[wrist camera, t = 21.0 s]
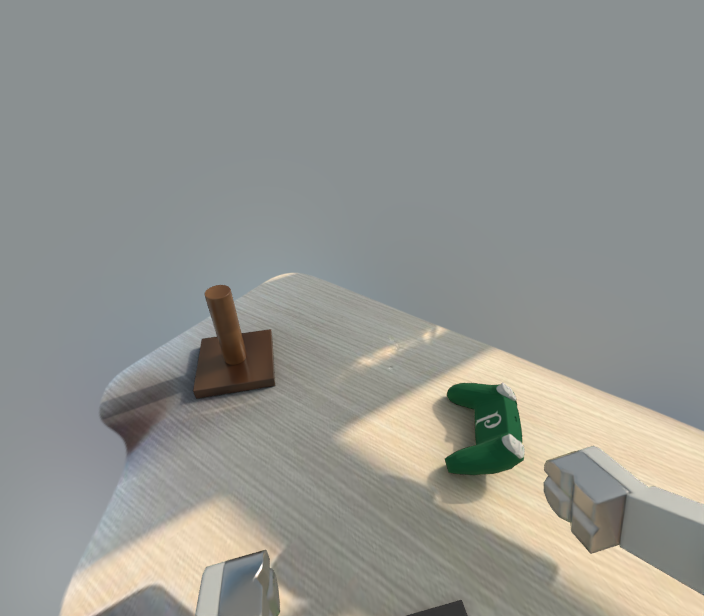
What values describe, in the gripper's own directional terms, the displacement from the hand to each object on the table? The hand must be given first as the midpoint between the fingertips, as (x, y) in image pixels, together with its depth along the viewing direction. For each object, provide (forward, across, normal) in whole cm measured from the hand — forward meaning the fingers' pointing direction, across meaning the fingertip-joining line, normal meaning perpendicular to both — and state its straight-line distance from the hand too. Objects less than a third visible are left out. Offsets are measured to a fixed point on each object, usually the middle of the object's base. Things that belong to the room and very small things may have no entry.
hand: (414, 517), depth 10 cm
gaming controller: (+18, -11, +16) cm, 26 cm away
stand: (+31, +10, +9) cm, 34 cm away
